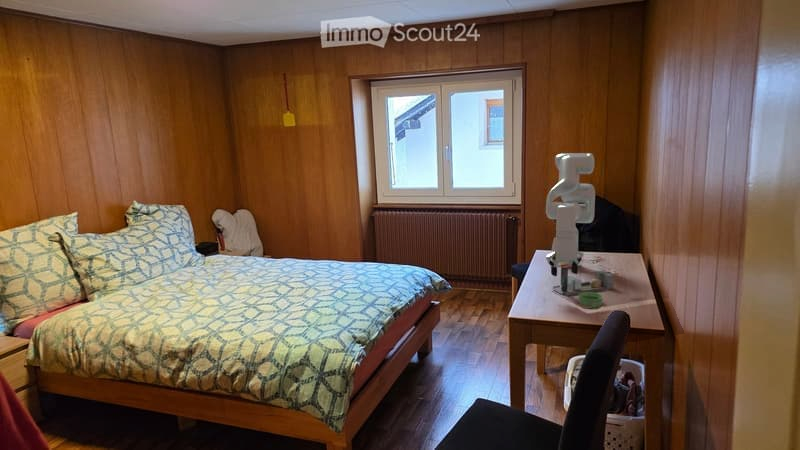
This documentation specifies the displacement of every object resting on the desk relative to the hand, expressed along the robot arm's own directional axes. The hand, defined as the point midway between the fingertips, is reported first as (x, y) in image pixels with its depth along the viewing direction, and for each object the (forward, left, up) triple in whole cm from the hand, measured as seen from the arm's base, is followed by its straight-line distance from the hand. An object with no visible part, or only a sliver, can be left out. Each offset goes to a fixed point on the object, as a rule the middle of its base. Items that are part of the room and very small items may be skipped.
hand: (564, 274), depth 208 cm
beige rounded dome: (0, +16, -8) cm, 18 cm away
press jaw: (0, +2, -7) cm, 8 cm away
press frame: (0, +11, -9) cm, 14 cm away
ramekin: (+15, +2, -10) cm, 18 cm away
